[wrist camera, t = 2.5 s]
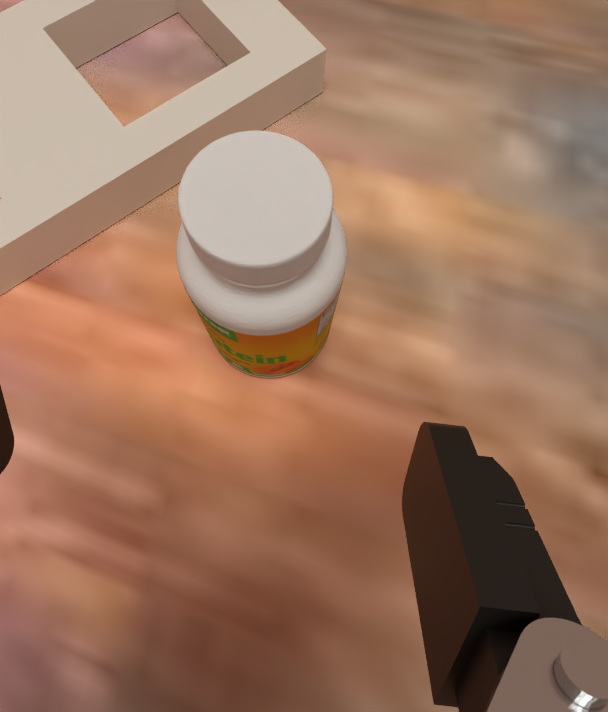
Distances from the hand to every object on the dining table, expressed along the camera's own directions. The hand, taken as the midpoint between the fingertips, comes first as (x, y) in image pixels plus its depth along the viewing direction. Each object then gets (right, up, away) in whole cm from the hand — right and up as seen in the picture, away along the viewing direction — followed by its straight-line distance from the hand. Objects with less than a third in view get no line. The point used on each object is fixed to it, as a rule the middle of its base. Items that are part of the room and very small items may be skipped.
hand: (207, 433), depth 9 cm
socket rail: (-11, +12, +14) cm, 21 cm away
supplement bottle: (0, +3, +12) cm, 13 cm away
